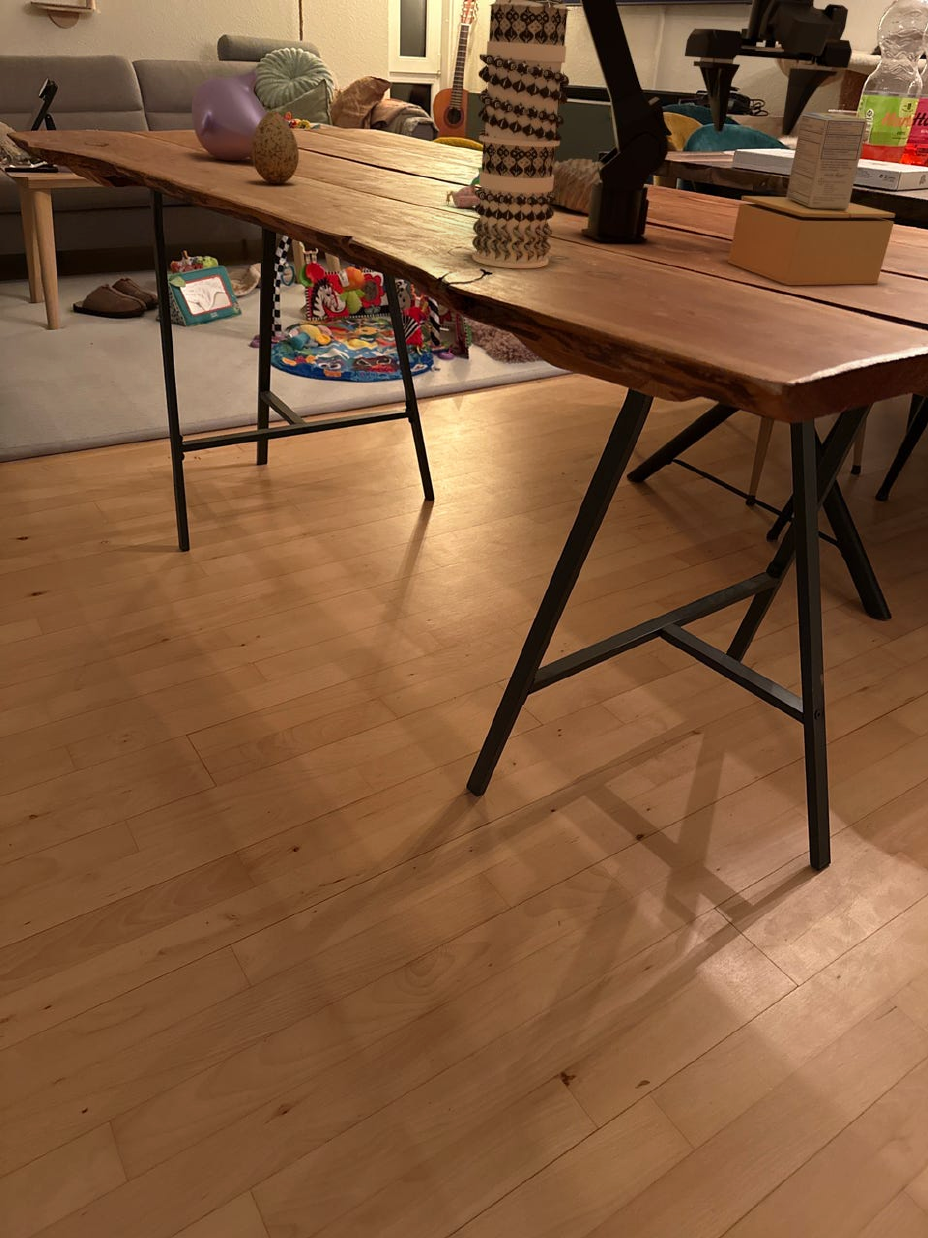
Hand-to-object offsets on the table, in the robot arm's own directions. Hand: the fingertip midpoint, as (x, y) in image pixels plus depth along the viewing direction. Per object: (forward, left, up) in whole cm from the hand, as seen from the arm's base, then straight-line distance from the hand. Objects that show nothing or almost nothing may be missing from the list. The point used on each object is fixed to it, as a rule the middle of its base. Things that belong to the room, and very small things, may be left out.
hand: (752, 133), depth 112 cm
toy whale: (-53, +79, -13) cm, 96 cm away
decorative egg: (-50, +52, -13) cm, 73 cm away
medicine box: (0, -15, -6) cm, 16 cm away
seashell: (-8, +29, -13) cm, 33 cm away
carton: (0, -15, -13) cm, 20 cm away
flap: (-3, -15, -6) cm, 17 cm away
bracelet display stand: (-33, -7, -13) cm, 36 cm away
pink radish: (-24, +26, -13) cm, 37 cm away
